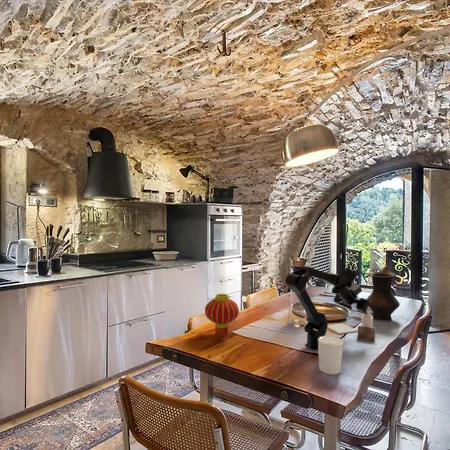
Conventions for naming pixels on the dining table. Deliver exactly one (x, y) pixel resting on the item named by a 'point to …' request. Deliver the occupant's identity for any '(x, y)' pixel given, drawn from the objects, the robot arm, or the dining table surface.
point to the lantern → (221, 312)
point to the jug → (382, 295)
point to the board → (341, 328)
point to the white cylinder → (330, 354)
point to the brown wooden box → (366, 333)
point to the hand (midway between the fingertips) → (358, 311)
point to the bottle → (367, 319)
